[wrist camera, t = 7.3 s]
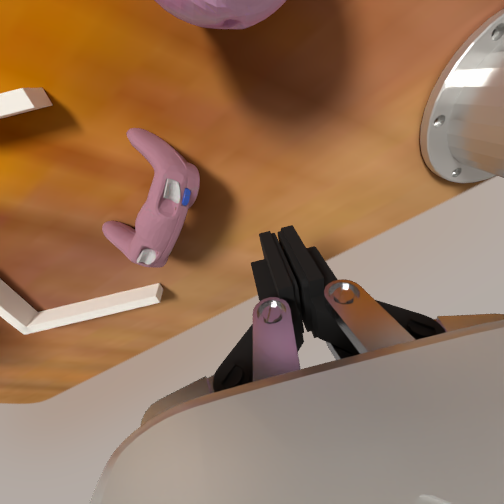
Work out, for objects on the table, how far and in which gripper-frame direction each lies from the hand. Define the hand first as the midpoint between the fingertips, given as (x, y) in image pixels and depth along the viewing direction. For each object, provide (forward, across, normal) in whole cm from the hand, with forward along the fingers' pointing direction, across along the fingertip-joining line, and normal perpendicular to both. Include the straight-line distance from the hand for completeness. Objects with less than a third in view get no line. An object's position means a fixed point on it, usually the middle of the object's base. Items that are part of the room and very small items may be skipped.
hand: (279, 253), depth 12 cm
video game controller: (+12, +8, -1) cm, 14 cm away
